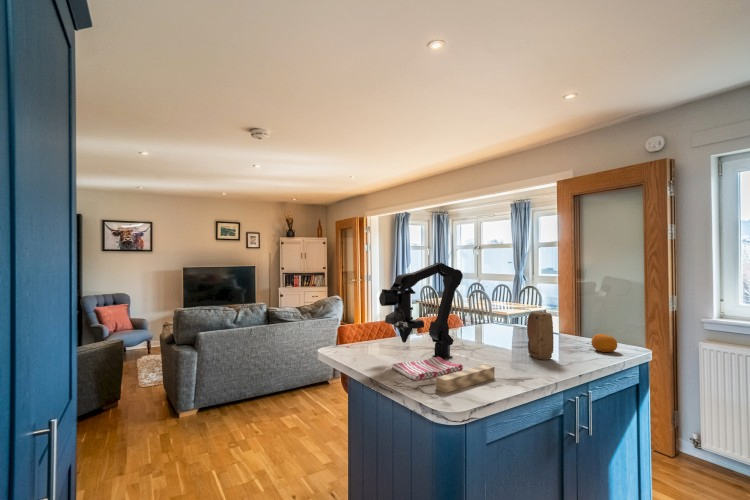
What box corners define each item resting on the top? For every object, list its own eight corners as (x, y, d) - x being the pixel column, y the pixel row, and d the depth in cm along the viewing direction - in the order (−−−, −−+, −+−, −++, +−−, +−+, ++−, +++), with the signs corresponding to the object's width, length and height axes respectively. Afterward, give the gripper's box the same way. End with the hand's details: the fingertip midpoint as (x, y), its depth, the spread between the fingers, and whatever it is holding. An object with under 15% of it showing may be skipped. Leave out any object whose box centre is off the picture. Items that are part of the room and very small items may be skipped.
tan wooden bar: (485, 375, 140) (485, 364, 140) (494, 378, 136) (494, 366, 137) (436, 389, 124) (436, 377, 124) (445, 393, 121) (445, 380, 121)
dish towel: (464, 373, 144) (464, 364, 144) (414, 382, 133) (414, 372, 133) (437, 362, 159) (437, 354, 159) (389, 369, 148) (389, 361, 148)
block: (555, 360, 161) (554, 313, 162) (539, 361, 160) (539, 313, 160) (539, 353, 172) (539, 309, 172) (524, 354, 170) (524, 310, 171)
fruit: (623, 353, 173) (623, 336, 173) (602, 354, 171) (602, 336, 171) (606, 348, 183) (606, 332, 183) (586, 349, 182) (586, 332, 182)
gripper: (375, 304, 160) (375, 341, 160) (404, 308, 145) (404, 349, 145) (395, 302, 167) (395, 337, 166) (425, 306, 152) (425, 345, 151)
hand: (404, 342), depth 157 cm, fingers closed
